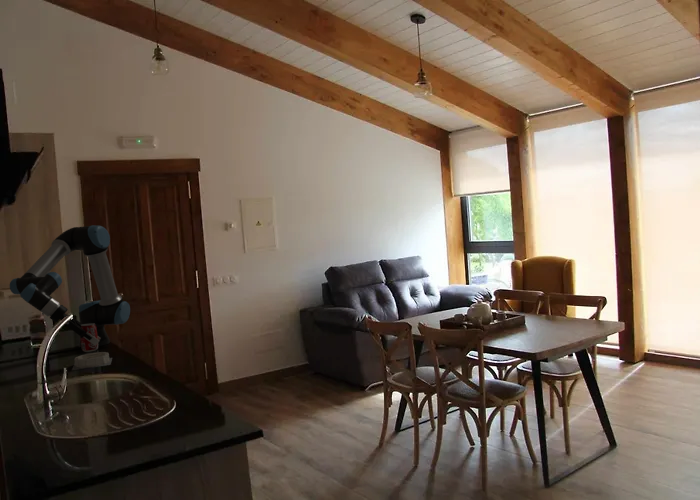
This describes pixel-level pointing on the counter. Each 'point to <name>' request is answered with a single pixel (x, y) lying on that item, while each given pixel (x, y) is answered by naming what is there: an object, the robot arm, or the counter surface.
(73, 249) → the robot arm
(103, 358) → the bowl
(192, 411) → the counter surface
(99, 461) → the counter surface
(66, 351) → the counter surface
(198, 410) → the counter surface
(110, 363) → the mat
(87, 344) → the soda can
